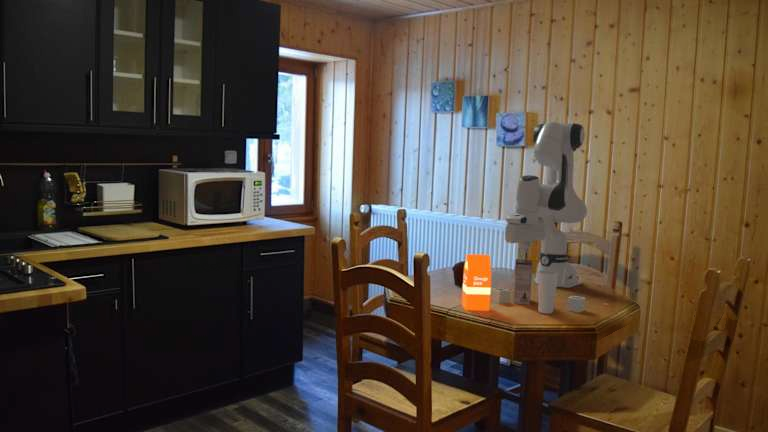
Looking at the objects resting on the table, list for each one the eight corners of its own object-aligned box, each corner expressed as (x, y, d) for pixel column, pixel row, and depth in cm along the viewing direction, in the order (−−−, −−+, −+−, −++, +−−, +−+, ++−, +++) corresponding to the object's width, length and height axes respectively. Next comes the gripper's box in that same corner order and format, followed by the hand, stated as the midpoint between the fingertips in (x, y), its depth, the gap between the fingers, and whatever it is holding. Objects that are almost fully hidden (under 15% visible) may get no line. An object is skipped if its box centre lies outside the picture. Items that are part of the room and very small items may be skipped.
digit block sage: (501, 300, 256) (501, 287, 256) (509, 303, 252) (510, 289, 251) (490, 301, 254) (491, 288, 253) (499, 304, 249) (499, 290, 249)
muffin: (479, 283, 287) (480, 261, 286) (477, 288, 276) (478, 265, 275) (452, 281, 290) (454, 259, 289) (449, 285, 279) (450, 262, 278)
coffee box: (513, 298, 260) (515, 258, 258) (529, 299, 259) (532, 259, 257) (513, 303, 251) (515, 262, 249) (530, 304, 250) (532, 263, 248)
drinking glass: (533, 310, 241) (536, 270, 240) (551, 310, 242) (554, 270, 240) (539, 314, 235) (542, 273, 233) (557, 315, 235) (560, 274, 234)
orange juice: (489, 310, 238) (492, 256, 236) (465, 310, 237) (468, 256, 235) (484, 305, 246) (487, 253, 243) (461, 305, 245) (464, 252, 243)
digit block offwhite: (571, 308, 247) (572, 295, 246) (584, 310, 244) (585, 297, 244) (566, 310, 243) (567, 297, 242) (579, 313, 240) (580, 299, 240)
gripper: (537, 215, 260) (535, 249, 262) (503, 217, 248) (501, 253, 249) (550, 217, 255) (548, 252, 257) (516, 219, 243) (514, 256, 244)
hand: (524, 253), depth 253 cm, fingers closed
